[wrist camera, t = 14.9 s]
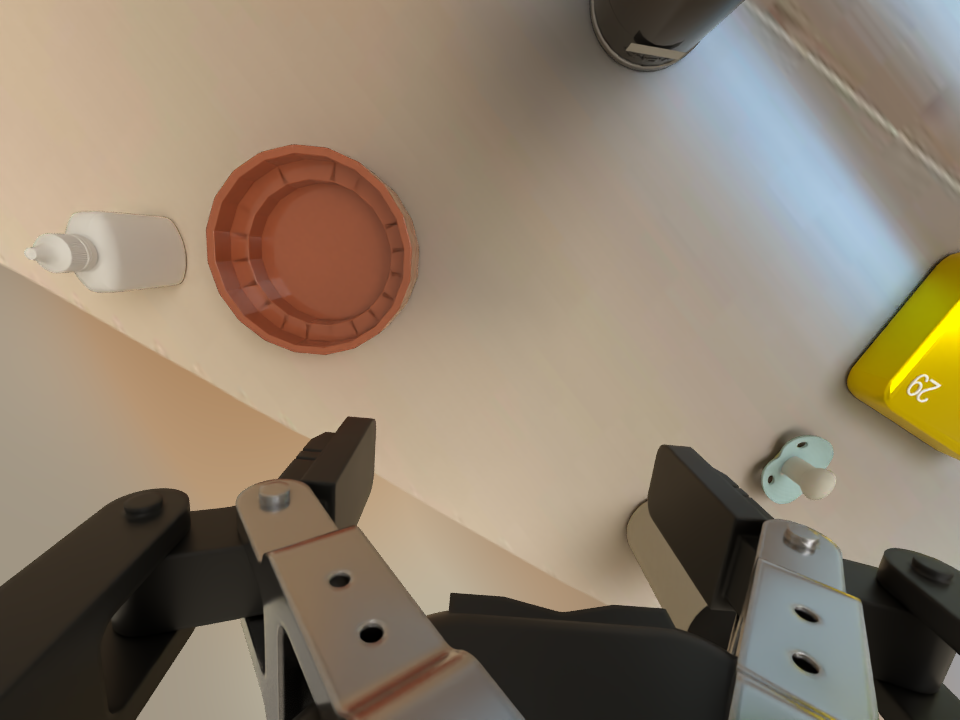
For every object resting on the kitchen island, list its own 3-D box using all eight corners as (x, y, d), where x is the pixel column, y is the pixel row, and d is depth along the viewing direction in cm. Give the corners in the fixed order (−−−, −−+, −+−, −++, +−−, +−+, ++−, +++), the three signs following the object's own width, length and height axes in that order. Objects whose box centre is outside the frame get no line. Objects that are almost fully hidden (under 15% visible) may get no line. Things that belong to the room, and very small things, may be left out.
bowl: (237, 149, 36) (200, 134, 31) (424, 168, 37) (416, 156, 32) (243, 333, 40) (212, 345, 35) (414, 348, 40) (405, 362, 35)
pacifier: (837, 450, 44) (793, 420, 42) (897, 484, 38) (848, 450, 36) (786, 506, 45) (742, 478, 44) (836, 547, 39) (787, 516, 38)
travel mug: (657, 479, 44) (778, 632, 26) (719, 516, 45) (875, 686, 28) (609, 539, 45) (694, 720, 28) (671, 573, 47) (789, 768, 29)
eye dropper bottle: (131, 268, 38) (-19, 278, 27) (151, 208, 37) (4, 190, 25) (180, 292, 39) (54, 312, 27) (202, 233, 38) (80, 228, 26)
